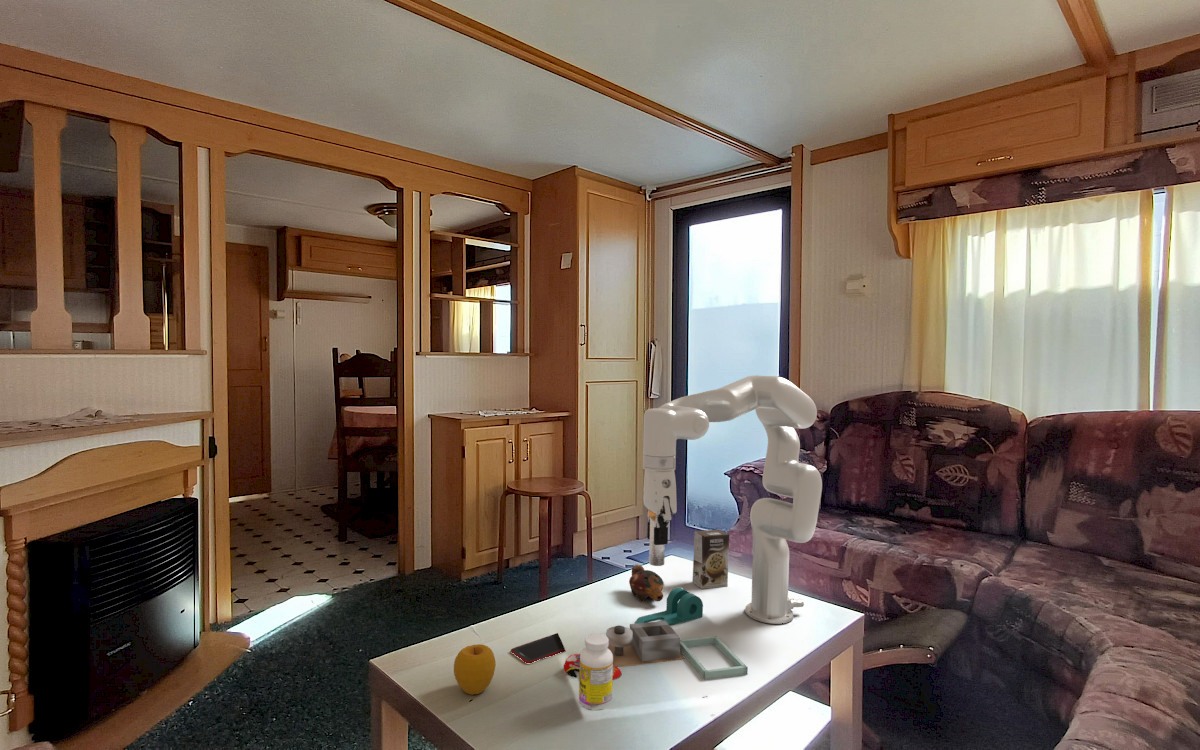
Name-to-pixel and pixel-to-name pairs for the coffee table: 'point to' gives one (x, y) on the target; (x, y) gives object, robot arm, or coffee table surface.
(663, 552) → the pin
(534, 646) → the cell phone
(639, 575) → the green brown ocarina
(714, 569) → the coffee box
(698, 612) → the bracket
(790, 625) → the coffee table surface
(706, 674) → the tray
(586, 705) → the supplement bottle
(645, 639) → the square socket fixture board
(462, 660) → the apple
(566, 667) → the race car
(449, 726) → the coffee table surface
